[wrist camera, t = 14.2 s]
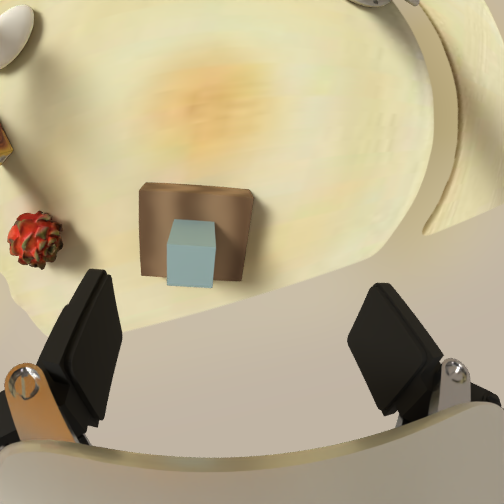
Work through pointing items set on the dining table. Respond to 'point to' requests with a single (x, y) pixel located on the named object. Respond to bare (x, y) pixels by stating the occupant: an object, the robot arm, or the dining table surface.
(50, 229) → the dragon fruit
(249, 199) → the plinth
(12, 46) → the flower in vase
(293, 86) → the dining table surface
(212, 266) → the block
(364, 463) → the robot arm
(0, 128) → the candy box
